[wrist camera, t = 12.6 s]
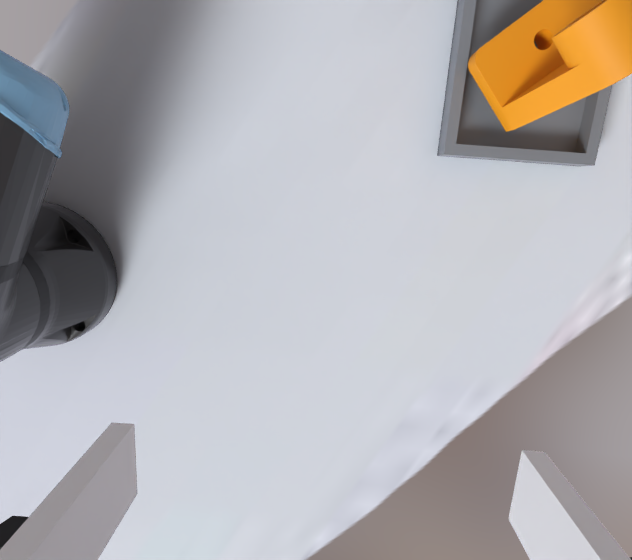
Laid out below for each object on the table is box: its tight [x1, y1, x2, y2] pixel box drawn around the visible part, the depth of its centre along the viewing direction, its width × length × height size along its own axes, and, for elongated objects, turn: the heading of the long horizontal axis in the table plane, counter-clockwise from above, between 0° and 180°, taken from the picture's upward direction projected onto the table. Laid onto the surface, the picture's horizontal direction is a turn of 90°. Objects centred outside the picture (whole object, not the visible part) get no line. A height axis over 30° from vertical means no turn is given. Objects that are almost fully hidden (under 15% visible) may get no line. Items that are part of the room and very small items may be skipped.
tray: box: [437, 0, 612, 166], centre depth 39 cm, size 14×17×2 cm
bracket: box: [468, 0, 632, 132], centre depth 32 cm, size 11×7×12 cm, turn 126°
